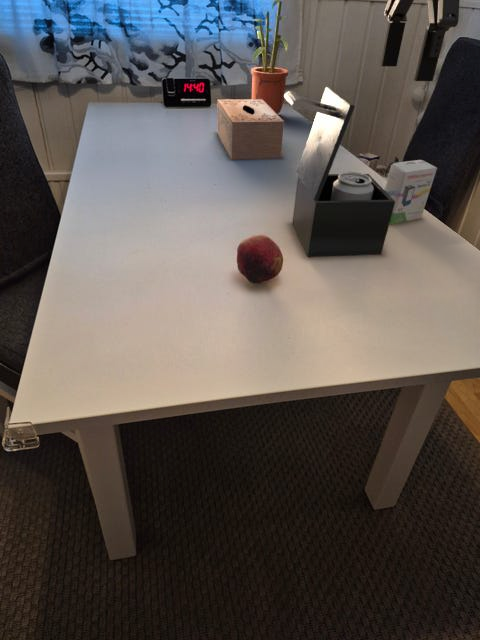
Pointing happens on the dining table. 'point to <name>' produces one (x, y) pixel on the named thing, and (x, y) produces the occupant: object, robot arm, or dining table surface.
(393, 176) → the ink box
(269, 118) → the tissue box cover
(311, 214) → the bin
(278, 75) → the potted plant
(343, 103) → the bin lid
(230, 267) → the dining table surface
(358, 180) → the can
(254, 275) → the fruit
